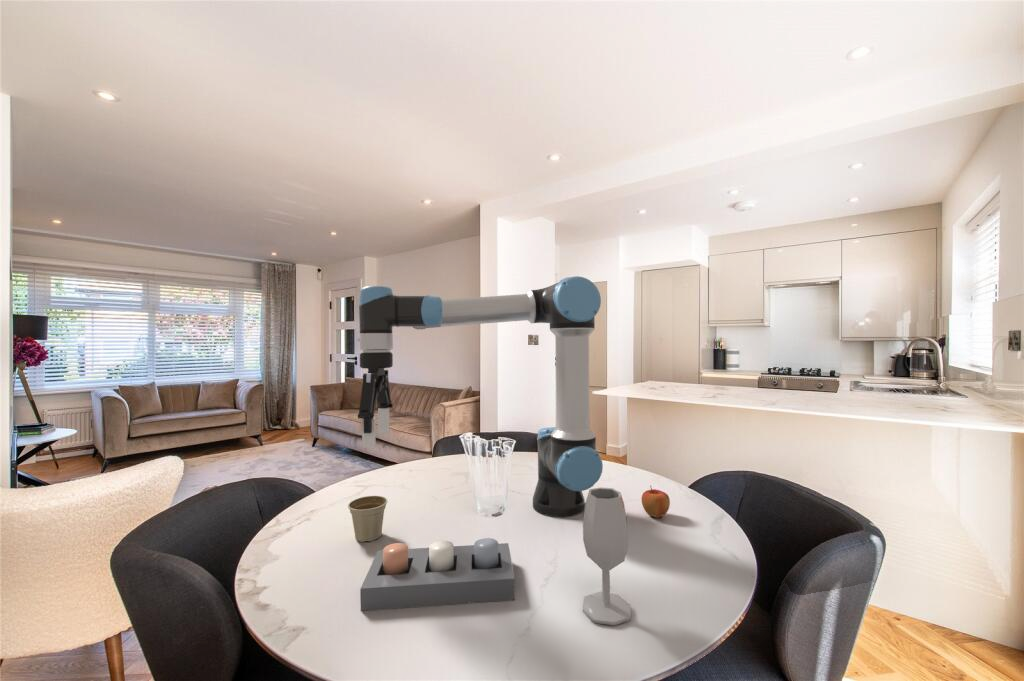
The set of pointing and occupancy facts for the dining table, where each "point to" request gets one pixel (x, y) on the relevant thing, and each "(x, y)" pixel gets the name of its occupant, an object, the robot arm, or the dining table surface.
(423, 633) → the dining table surface
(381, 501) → the flower pot
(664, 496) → the apple
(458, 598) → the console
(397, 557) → the terracotta key
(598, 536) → the wineglass
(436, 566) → the ivory key
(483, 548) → the slate key
